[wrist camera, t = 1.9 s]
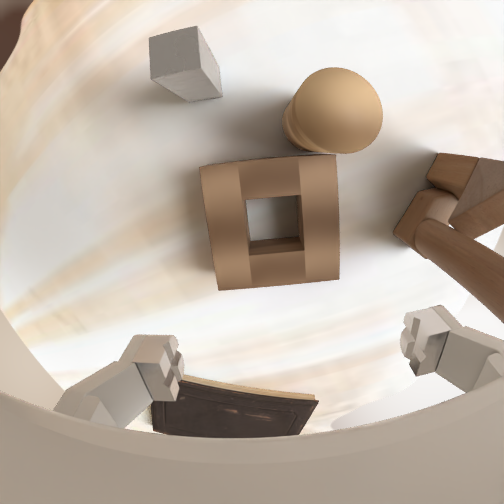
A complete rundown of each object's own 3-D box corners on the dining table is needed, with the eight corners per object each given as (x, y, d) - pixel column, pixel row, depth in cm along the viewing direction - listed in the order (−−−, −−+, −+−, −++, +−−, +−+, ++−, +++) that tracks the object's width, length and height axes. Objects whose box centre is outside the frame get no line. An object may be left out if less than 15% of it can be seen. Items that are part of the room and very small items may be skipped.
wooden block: (457, 171, 25) (583, 209, 8) (412, 248, 28) (518, 342, 11) (437, 150, 24) (573, 175, 7) (390, 232, 27) (503, 326, 10)
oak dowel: (279, 97, 23) (290, 67, 14) (336, 95, 23) (376, 70, 14) (285, 153, 25) (300, 155, 16) (342, 150, 25) (386, 153, 15)
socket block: (208, 164, 26) (199, 167, 22) (324, 153, 25) (335, 154, 21) (223, 272, 29) (218, 290, 26) (329, 262, 29) (339, 279, 25)
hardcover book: (153, 361, 35) (148, 372, 33) (316, 390, 36) (318, 402, 34) (156, 422, 41) (153, 432, 38) (285, 444, 42) (285, 454, 39)
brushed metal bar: (186, 72, 22) (148, 37, 13) (219, 66, 22) (197, 25, 13) (189, 102, 24) (151, 79, 14) (222, 96, 23) (201, 67, 14)
